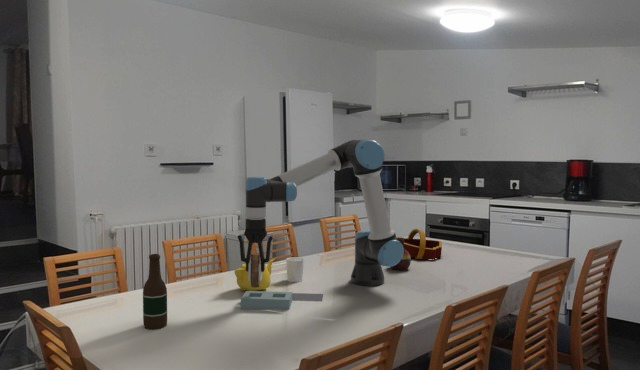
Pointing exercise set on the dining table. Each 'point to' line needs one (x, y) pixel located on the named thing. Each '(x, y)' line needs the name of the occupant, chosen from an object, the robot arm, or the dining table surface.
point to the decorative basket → (422, 246)
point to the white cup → (295, 269)
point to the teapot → (246, 285)
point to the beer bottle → (154, 297)
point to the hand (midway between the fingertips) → (255, 279)
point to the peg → (255, 270)
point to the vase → (403, 258)
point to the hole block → (266, 300)
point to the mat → (306, 297)
